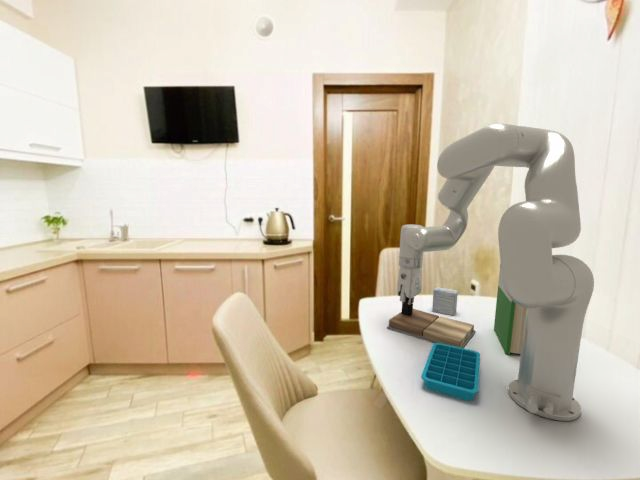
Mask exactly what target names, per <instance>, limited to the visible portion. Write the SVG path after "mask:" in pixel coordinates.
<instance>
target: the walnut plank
mask: <svg viewBox="0 0 640 480" xmlns="http://www.w3.org/2000/svg"><path fill="white" fill-rule="evenodd" d="M439 317H440V316H439V315H437V314H434V313H430V312H426V311H424V310H423V311H422V310H420V309H416V308H413V312H412V315H411V316H407V315H404V314H402V311H401V312H399V313H398V314H396V315H394V316H393V317H391V318H390V319H388V326H392V327H395V328H398V329H401V330H404V331H407V332H410V333H413V334H416V335H419V336H423V331H424V330H425V329H426V328H427V327H428V326H429V325H431V324H432V323H433V322H434V321H435V320H436V319H437V318H439Z"/></svg>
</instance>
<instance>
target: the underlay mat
mask: <svg viewBox="0 0 640 480" xmlns="http://www.w3.org/2000/svg"><path fill="white" fill-rule="evenodd" d="M386 329H387V330H390V331H394V332H396V333H401V334H403V335H406V336H411V337H413V338H416V339H420V340H422V341H427V342H430V343H433V344H434V343H441V342H438V341H435V340H431V339H428V338H425V337H423V336H419V335H416V334H413V333H410V332H407V331H404V330H401V329H398V328H395V327H392V326H389V325H387V326H386ZM475 334H476V330H475V329H474V331H473V332H472V333H471V335H470V336H469V337H468V339H467V340H466V341H465V342H464V344H463V345H462V346H461V348H464V349H465V347H466V346H467V344H468V343H469V342H470V341H471V340H472V338H473V336H474V335H475ZM441 344H445V343H441ZM446 345H448V344H446Z"/></svg>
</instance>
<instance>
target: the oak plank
mask: <svg viewBox="0 0 640 480" xmlns="http://www.w3.org/2000/svg"><path fill="white" fill-rule="evenodd" d="M474 328H475V324H472V323H467V322H463V321H459V320H457V319H456V320H455V319H452V318H448V317H444V316H439V318H437V319H436V320H435V321H434V322H433V323H432V324H431V325H429V326H428V327H427V328H426V329H425V330H424V331H423V337H425V338H428V339H431V340H435V341H438V342H441V343H445V344H448V345H451V346H455V347H460V348H461V346H462V345H463V344H464V342H465V341H466V340H467V339H468V337H469V336H470V335H471V333H472V332H473V331H474V330H475V329H474Z"/></svg>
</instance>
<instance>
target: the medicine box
mask: <svg viewBox="0 0 640 480" xmlns="http://www.w3.org/2000/svg"><path fill="white" fill-rule="evenodd" d="M432 291H433V293H432V307H431V312H433V313H438V314H444V315H449V316H456V313H457V308H458V294H459V291H458V290H456V289H452V288H451V289H450V288H445V287H435V288H434V289H433V290H432Z"/></svg>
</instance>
